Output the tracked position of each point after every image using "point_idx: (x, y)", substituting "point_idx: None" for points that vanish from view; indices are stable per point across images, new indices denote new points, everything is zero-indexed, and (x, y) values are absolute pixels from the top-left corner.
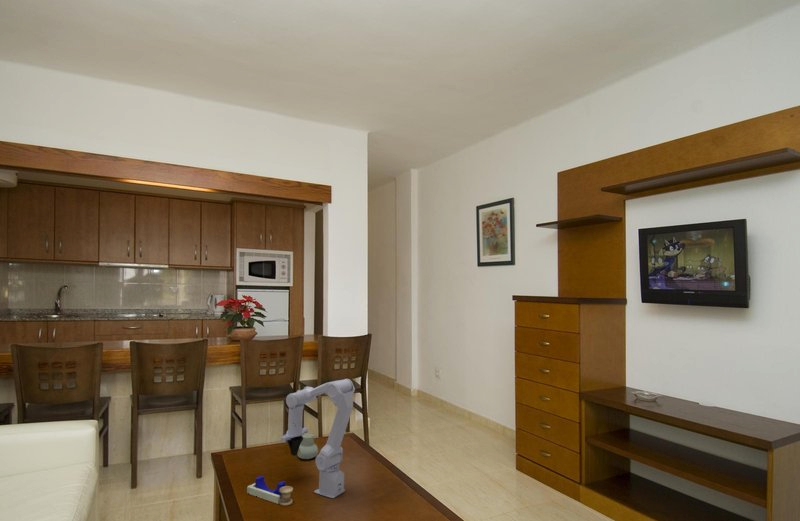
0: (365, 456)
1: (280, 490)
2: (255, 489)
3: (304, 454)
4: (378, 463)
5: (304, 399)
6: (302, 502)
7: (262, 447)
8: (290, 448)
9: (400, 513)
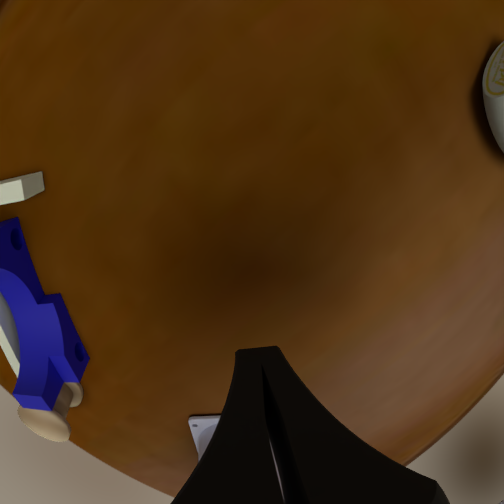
0: None
1: (19, 414)
2: None
3: (500, 124)
4: (494, 374)
5: None
6: (110, 420)
7: None
8: (227, 414)
9: None
